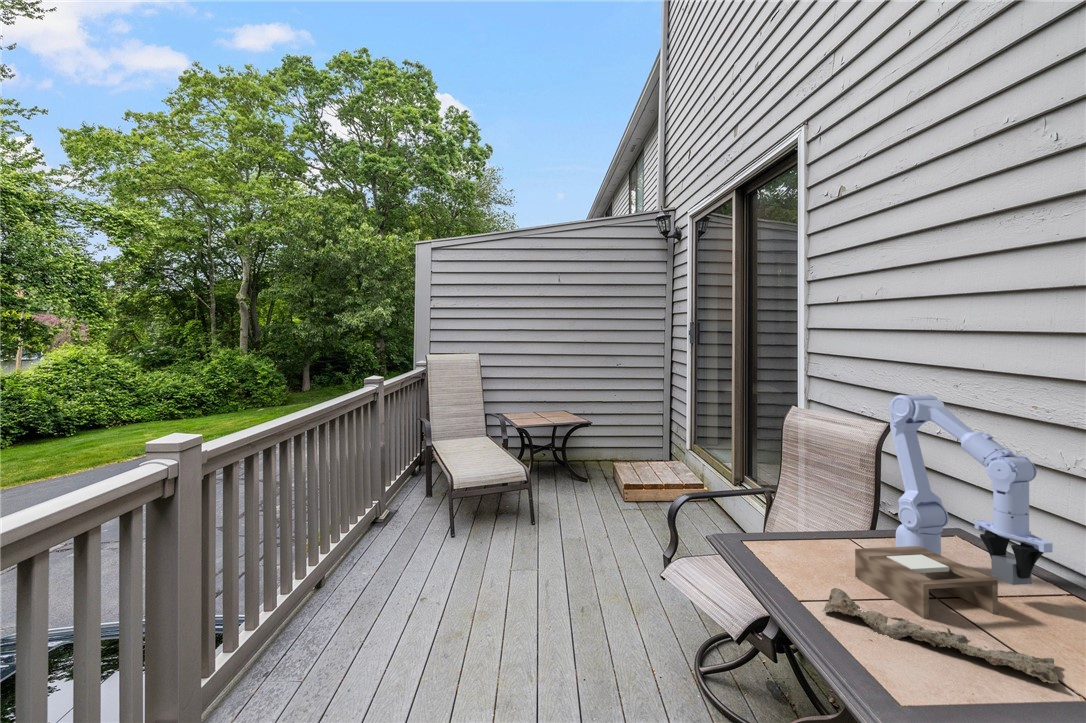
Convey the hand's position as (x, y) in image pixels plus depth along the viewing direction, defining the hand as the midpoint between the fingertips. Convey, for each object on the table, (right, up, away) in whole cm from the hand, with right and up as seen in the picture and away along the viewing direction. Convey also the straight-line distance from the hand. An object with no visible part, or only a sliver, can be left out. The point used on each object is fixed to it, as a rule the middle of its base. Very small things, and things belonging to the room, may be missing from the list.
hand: (1011, 572), depth 107 cm
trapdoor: (-18, 0, +4) cm, 18 cm away
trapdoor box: (-17, -6, +3) cm, 19 cm away
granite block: (0, -2, 0) cm, 2 cm away
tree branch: (-30, -7, -14) cm, 34 cm away
